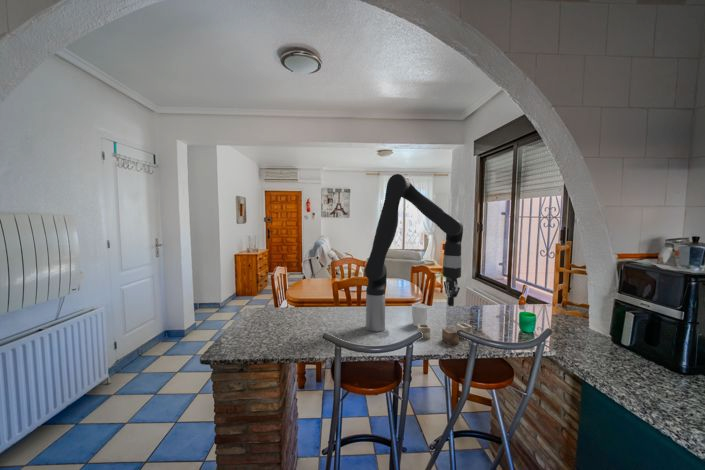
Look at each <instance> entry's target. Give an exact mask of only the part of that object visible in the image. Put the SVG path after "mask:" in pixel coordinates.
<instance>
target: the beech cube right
mask: <svg viewBox="0 0 705 470" xmlns="http://www.w3.org/2000/svg"><path fill="white" fill-rule="evenodd" d="M455 327H456V328H455V330H456V331H457V330H464V331H467V332H469V333H472V334H473V331H474V330H473V328H474V327H473V326H472V325H470V324H469V323H466V322H462V323H455Z"/></svg>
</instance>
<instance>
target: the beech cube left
mask: <svg viewBox="0 0 705 470" xmlns="http://www.w3.org/2000/svg"><path fill="white" fill-rule="evenodd" d="M416 328H417V332H419V331H420V332H422V333H423V338H421V339H424V340H426V339H428V340H430V339H431V327H430V324H427V323H426V324H417V326H416ZM417 332H416V333H417Z"/></svg>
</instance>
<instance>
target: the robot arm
mask: <svg viewBox="0 0 705 470" xmlns="http://www.w3.org/2000/svg"><path fill="white" fill-rule="evenodd" d="M401 199H404V200H406V201H407V202H409V203H410V204H411V205H413V206H414V207H415V208H416V209H417V210H418V211H419V212H420V213H421V214H422V215H423V216H425V217H426V218H427V219H428V220H430V221H431V222H433V223H434V224H435V225H436V226H437V227H438V228H439V229H440V230H441V231H442V232H443V233H444V234H446V237H445V243H444V246H443V257H442V258H443V259H442V277H444V278H445V281H443V287H444V291H445V294H446V297H447V305H448V307H454V305H455V298H457V297H458V295H459V292H460V289H461V288H460V286H458V284H459V283H458V279H460V278H461V277H462V240H463V233H464V226H463V223H462V222H461V221H460V220H458V219H456V218H454V217H453V216H451V215H450V214H448V213H447V212H446V210H445V209H443V208H442V207H441V206H439V205H438V204H437V203H435V202H434V201H432V200H431V199H430V198H428V197H426V196H425V195H424V194H422V193H421V192H420V191H419V190H418V189H417V188H416V187H415V186H414V185H413V184H412V183H411V182H410V180H409V179H408V178H407V177H405V176H404V175H402V174H400V173H396V174H395V173H394V174H393V175H391V176H390V177H389V178H388V181H387V184H386V190H385V195H384V201H383V205H382V208H381V213H380V216H379V218H378V222H377V227H376V229H375V234H374V238H373V242H372V246H371V247H372V248H371V251H370V254H369V257H368V260H367V262H366V263H365V267H364V275H365V277H366V278H367V279H368V281H367V286H366V294H365V295H366V297H365V299H366V300H365V302H366V304H365V329H366V331H370V332H375V333H377V332H378V333H379V332H382V331H384V330H385V329H386V288H387V276H388V272H387V270H388V269H387V266H386V264H385V262H386V257H387V254H388V252H389V250H390V247H391V246H392V243H393V242H394V240H395V237H396V232H397V229H398V224H399V206H400V203H401V202H400V201H401Z"/></svg>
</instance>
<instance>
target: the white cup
mask: <svg viewBox="0 0 705 470" xmlns="http://www.w3.org/2000/svg"><path fill="white" fill-rule="evenodd" d="M428 312H429V309H428V305H427V304H425V303H419V302H418V303H413V304H411V315H412V316H411V317H412V319H411V320H412V325H413V327H414V326H415V327H417V324H427V320H428Z"/></svg>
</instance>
